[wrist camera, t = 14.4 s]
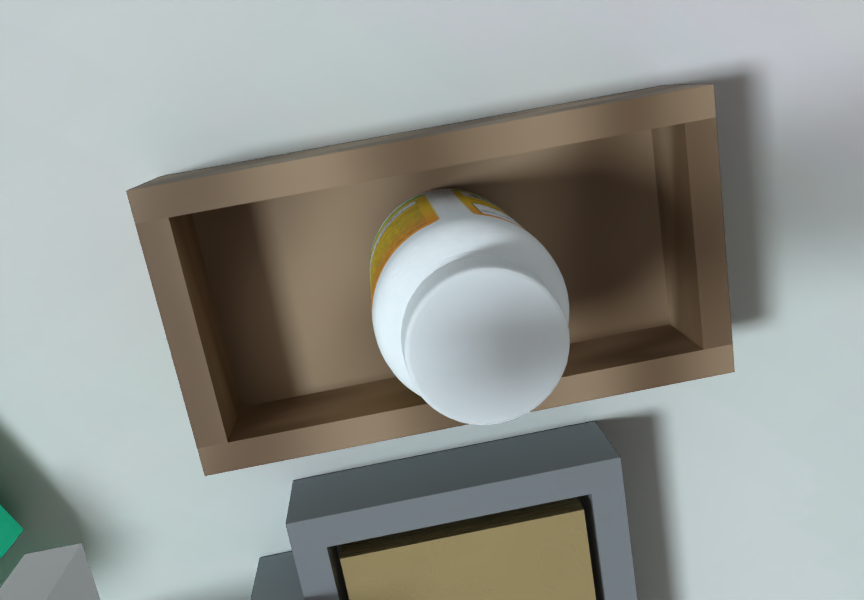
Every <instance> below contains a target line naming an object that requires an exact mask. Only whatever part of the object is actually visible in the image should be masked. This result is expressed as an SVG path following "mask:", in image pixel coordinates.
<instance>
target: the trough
mask: <svg viewBox="0 0 864 600" xmlns="http://www.w3.org/2000/svg"><path fill="white" fill-rule="evenodd" d="M437 189H459V190H464V191H468V192H472V193H474V194H477V195H479V196H482V197H484V198H486V199H487V200H489V201H490V202H492V203H494V204H495V205H497V206H498V207H499V208H500V209H501V210H503V211H504V212H505V213H506V214H507V215H509V216H510V217H511V218H512V219H514V220H515V221H516V222H517V223H518V224H519V225H520V226H521V227H523V228H524V229H525V230H526V231H528V232H529V233H530V234H532V235H533V236H534V237H535V238H536V239H537V240H538V241H539V242H540V243H541V244H542V245H543V246H544V247H545V249H546V250H547V251H548V252H549V254H550V255H551V256H552V258H553V260H554V261H555V263H556V265H557V266H558V268H559V270H560V272H561V274H562V277H563V279H564V282H565V285H566V289H567V293H568V300H569V323H568V328H569V337H570V347H569V355H568V360H567V364H566V367H565V370H564V372H563V375H562V377H561V379H560V381H559V382H558V384H557V386H556V387H555V388H554V390H553V391H552V392H551V394H550V395H549V396H548V397H547V398H546V399H545V400H544V401H543V402H542V403H541V404H540V405H539V406H537V407H536V408H535V409H533V410H532V411H530V412H533V411H538V410H543V409H548V408H553V407H558V406H563V405H568V404H573V403H578V402H584V401H589V400H594V399H599V398H604V397H609V396H614V395H619V394H624V393H629V392H634V391H640V390H645V389H650V388H655V387H660V386H665V385H670V384H675V383H680V382H685V381H690V380H695V379H701V378H706V377H711V376H716V375H721V374H726V373H731V372H735V370H734V356H733V342H732V329H731V315H730V302H729V288H728V274H727V261H726V247H725V233H724V220H723V206H722V193H721V179H720V165H719V152H718V138H717V124H716V111H715V97H714V84H697V85H663V86H657V87H652V88H646V89H641V90H635V91H630V92H624V93H619V94H613V95H608V96H602V97H597V98H591V99H586V100H580V101H574V102H569V103H563V104H558V105H552V106H547V107H541V108H536V109H530V110H525V111H519V112H514V113H508V114H503V115H497V116H492V117H486V118H481V119H475V120H470V121H464V122H459V123H453V124H448V125H442V126H436V127H431V128H425V129H420V130H414V131H409V132H403V133H398V134H392V135H387V136H381V137H376V138H370V139H365V140H359V141H354V142H348V143H343V144H337V145H332V146H326V147H321V148H315V149H310V150H304V151H299V152H293V153H287V154H282V155H276V156H271V157H265V158H260V159H254V160H249V161H243V162H238V163H232V164H227V165H221V166H216V167H210V168H205V169H199V170H194V171H188V172H183V173H177V174H172V175H166V176H161V177H157V178H155V179H153V180H150V181H148V182H146V183H143V184H141V185H139V186H136V187H134V188H132V189H129V190H127V191H126V192H127V196H128V199H129V203H130V207H131V210H132V214H133V218H134V221H135V225H136V228H137V232H138V236H139V239H140V243H141V246H142V250H143V254H144V257H145V261H146V265H147V268H148V272H149V275H150V279H151V283H152V286H153V290H154V294H155V297H156V301H157V304H158V308H159V312H160V315H161V319H162V323H163V326H164V330H165V333H166V337H167V341H168V344H169V348H170V351H171V355H172V359H173V362H174V366H175V370H176V373H177V377H178V380H179V384H180V388H181V391H182V395H183V399H184V402H185V406H186V409H187V413H188V417H189V420H190V424H191V427H192V431H193V435H194V438H195V442H196V446H197V449H198V453H199V456H200V460H201V464H202V467H203V471H204V475H205V476H207V475H212V474H217V473H223V472H228V471H233V470H238V469H243V468H248V467H253V466H258V465H263V464H268V463H273V462H278V461H284V460H289V459H294V458H299V457H304V456H309V455H314V454H319V453H324V452H329V451H334V450H340V449H345V448H350V447H355V446H360V445H365V444H370V443H375V442H380V441H385V440H390V439H395V438H401V437H406V436H411V435H416V434H421V433H426V432H431V431H436V430H441V429H446V428H451V427H456V426H462V425H467V423H462V422H459V421H456V420H454V419H451V418H448V417H447V416H445V415H443V414H441V413H439V412H438V411H436V410H435V409H433V408H432V407H431V406H430V405H429V404H428V403H427V402H426V401H425V400H424V399H423V398H422V397H421V396H419V395H418V394H416V393H415V392H413V391H412V390H410V389H409V388H408V387H406V386H405V385H404V384H403V383H402V382H401V381H400V380H399V379H398V378H397V377H396V375H395V374H394V373H393V372H392V370H391V369H390V367H389V366H388V364H387V363H386V361H385V359H384V358H383V356H382V354H381V351H380V349H379V346H378V344H377V340H376V337H375V333H374V328H373V323H372V312H371V288H370V256H371V250H372V246H373V243H374V240H375V237H376V235H377V233H378V231H379V229H380V227H381V225H382V224H383V222H384V221H385V220H386V218H387V217H388V216H389V215H390V214H391V213H392V212H393V211H394V210H395V209H396V208H397V207H398V206H400V205H401V204H402V203H404V202H405V201H407V200H409V199H410V198H412V197H414V196H416V195H419V194H421V193H424V192H427V191H431V190H437Z"/></svg>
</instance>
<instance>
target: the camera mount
mask: <svg viewBox="0 0 864 600" xmlns="http://www.w3.org/2000/svg"><path fill="white" fill-rule="evenodd" d="M23 530H24V529H23V528H22V527H21V526H20V525H19V524H18V523H17V522H16V521H15V520H14V519H13V518H12V517H11V516H10V514H9V513H8V512H7V511H6V510H5V509H4V508H3V507H2V506H1V505H0V558H1V557H2V556H3V555H4V554H5V553H6V552H7V551H8V549H9V548H10V547H11V546H12V544H13V543H14V542H15V540H16V539H17V538H18V536H19V535H20V534H21V533H22V531H23Z"/></svg>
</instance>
